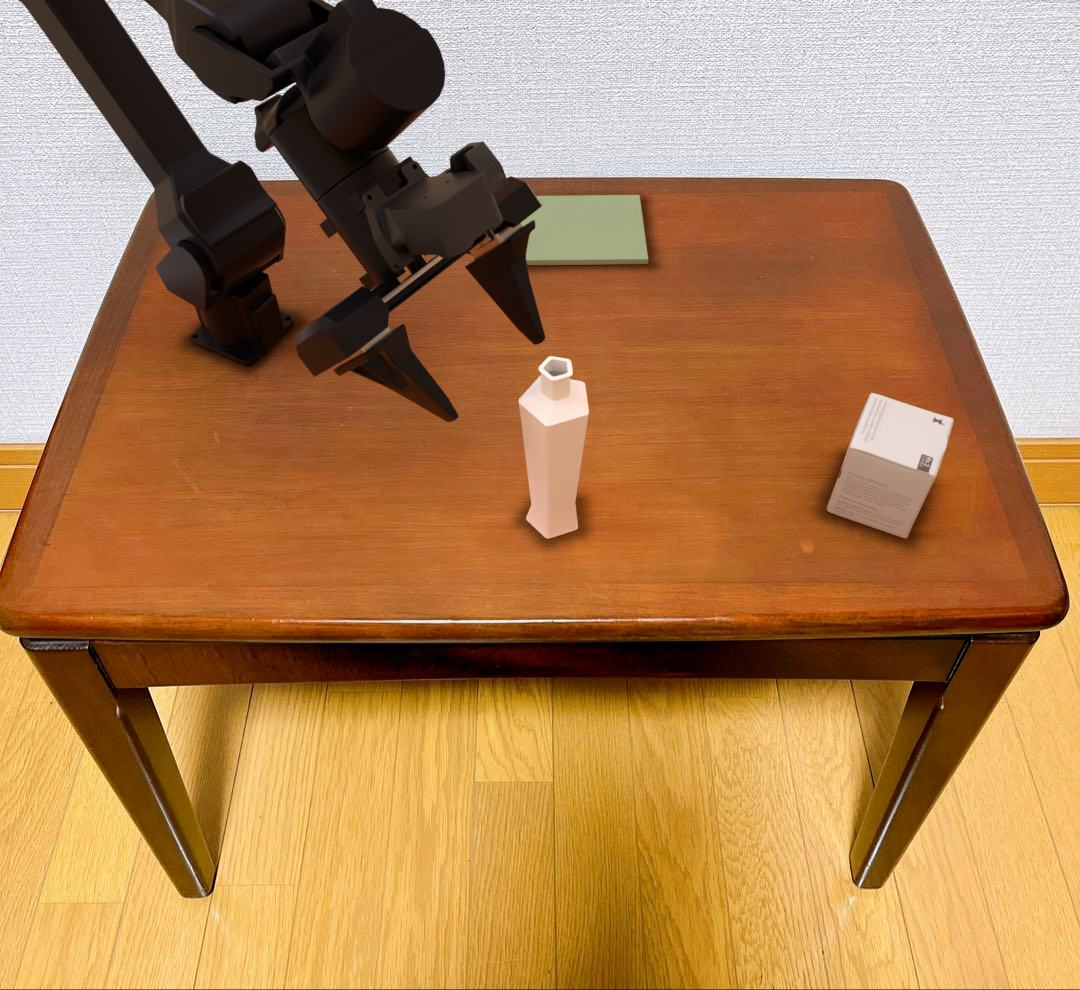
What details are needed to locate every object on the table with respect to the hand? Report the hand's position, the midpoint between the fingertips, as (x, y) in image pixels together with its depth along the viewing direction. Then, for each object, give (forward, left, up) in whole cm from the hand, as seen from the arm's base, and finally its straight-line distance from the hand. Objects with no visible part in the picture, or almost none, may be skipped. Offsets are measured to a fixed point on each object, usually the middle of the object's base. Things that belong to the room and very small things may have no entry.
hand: (498, 379), depth 67 cm
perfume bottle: (+5, -1, -11) cm, 12 cm away
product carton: (+25, +12, -11) cm, 30 cm away
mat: (-10, +30, -11) cm, 34 cm away
